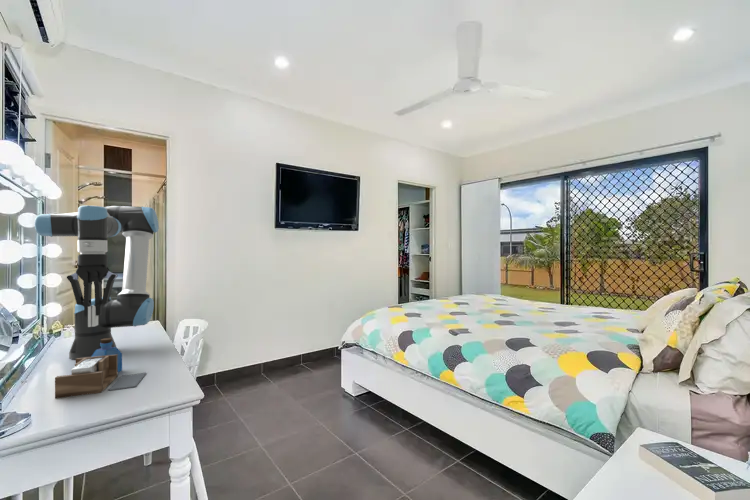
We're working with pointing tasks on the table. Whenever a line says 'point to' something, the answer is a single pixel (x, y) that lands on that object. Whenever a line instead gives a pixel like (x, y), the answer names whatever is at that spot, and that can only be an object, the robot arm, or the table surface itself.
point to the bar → (87, 366)
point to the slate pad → (127, 381)
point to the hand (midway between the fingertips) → (93, 325)
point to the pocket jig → (88, 378)
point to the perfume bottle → (109, 351)
